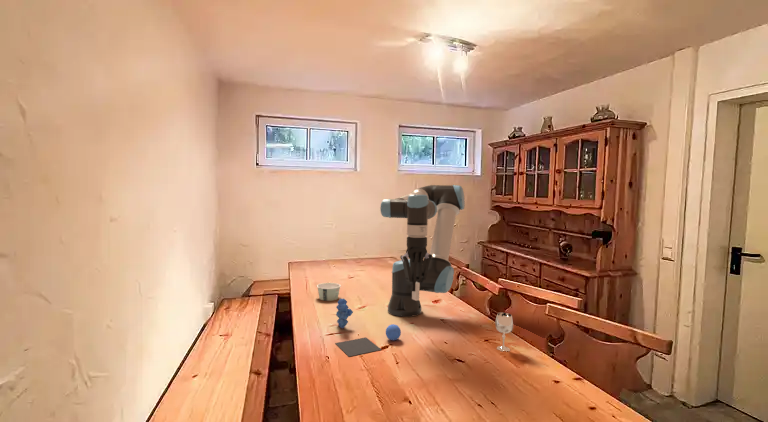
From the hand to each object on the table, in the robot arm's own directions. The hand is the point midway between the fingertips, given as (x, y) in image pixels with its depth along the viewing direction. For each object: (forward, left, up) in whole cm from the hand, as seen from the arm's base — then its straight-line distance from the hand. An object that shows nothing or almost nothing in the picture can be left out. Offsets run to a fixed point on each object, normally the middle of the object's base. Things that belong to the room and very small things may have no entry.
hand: (415, 299), depth 140 cm
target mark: (+23, 0, -14) cm, 27 cm away
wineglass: (-21, +24, -14) cm, 35 cm away
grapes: (+20, -19, -14) cm, 31 cm away
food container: (+11, -61, -14) cm, 64 cm away
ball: (+9, 0, -11) cm, 14 cm away
